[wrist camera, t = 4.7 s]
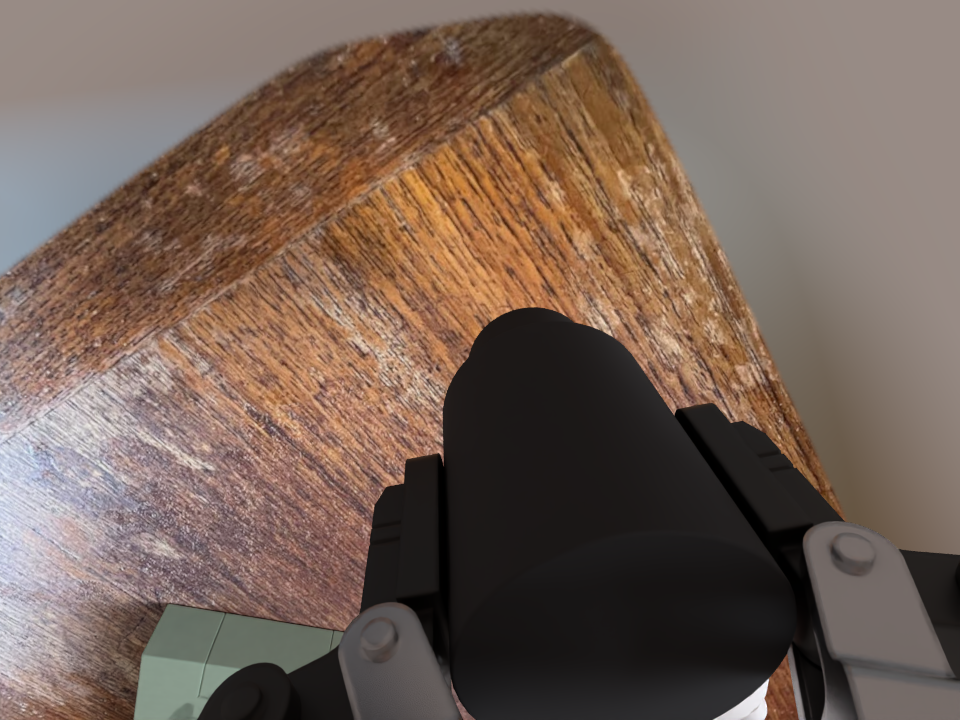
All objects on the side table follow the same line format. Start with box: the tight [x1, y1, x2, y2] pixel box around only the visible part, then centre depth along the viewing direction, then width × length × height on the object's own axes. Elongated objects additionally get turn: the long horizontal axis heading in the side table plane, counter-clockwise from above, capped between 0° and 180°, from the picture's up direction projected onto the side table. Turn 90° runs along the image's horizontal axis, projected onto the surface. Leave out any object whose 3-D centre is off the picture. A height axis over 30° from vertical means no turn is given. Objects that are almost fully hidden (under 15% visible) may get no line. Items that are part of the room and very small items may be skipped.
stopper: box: [443, 307, 797, 720], centre depth 12 cm, size 5×5×9 cm
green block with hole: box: [133, 604, 344, 720], centre depth 32 cm, size 12×12×3 cm
